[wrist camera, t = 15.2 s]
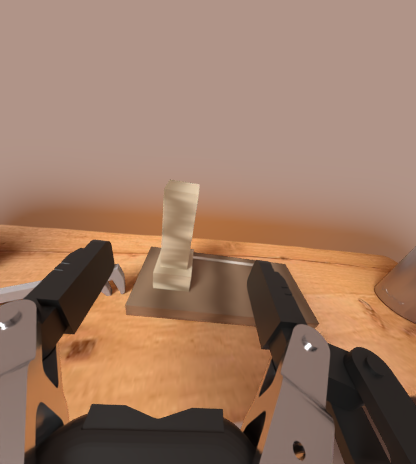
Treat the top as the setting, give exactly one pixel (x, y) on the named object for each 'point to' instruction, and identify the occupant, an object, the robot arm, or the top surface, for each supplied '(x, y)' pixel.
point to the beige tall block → (176, 237)
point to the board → (207, 292)
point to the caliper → (24, 289)
